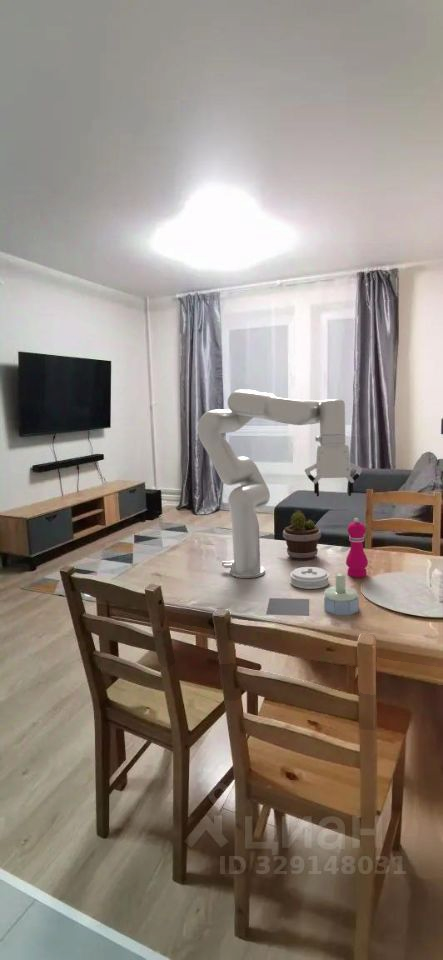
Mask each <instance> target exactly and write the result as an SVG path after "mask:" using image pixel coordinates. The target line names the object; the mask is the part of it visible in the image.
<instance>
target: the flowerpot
mask: <svg viewBox="0 0 443 960" xmlns="http://www.w3.org/2000/svg"><path fill="white" fill-rule="evenodd" d="M289 518H290V525H288V526H286V527H285V528H284V529H283V531H282V537H283V539H285V543H286V545H287V548H286V553H287V555H288V556H289V558H290V559H292V560H296V561H310V560H313V559H315V558H316V556H317V554H318V553H319V552H318V551H319V550H318V548H317V547H318V543H319V539H320V538H321V537H322V531H321V530H320V529H319V527H318V526H317V525H316V523H315V521H314V520H313V521H312V520H311V519H308V521H307V520H306V516H305V513H303V512H302V510H298V509H295V511H294V513H293V514H292V515H291V517H289ZM314 523H315V524H314Z"/></svg>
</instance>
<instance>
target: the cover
mask: <svg viewBox="0 0 443 960" xmlns="http://www.w3.org/2000/svg"><path fill="white" fill-rule="evenodd" d="M334 577H335V578H334V579H335V580H334V581H335V586H330V587H327V588H325V589H324V593H325V597H326V598H327V599H329V600H332V601H336V602H349V601H353V600H355V599H356V598H357V594H358V592H357V590H356V589H355V588H352V587H349V586H347V585H346V584H347V583H346V581H347V580H346V574H345V573H340V572H339V573H335V575H334Z"/></svg>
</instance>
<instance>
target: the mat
mask: <svg viewBox="0 0 443 960" xmlns="http://www.w3.org/2000/svg"><path fill="white" fill-rule="evenodd" d="M265 615H273V616H274V615H275V616H277V615H278V616H303V617H305V616H306V617H309V616H310V598H285V597H284V598H281V597H270V598H269V599H268V604H267V608H266V612H265Z"/></svg>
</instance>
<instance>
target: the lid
mask: <svg viewBox="0 0 443 960" xmlns="http://www.w3.org/2000/svg"><path fill="white" fill-rule="evenodd" d="M289 576H290V581H289V582H290V584H291V585H292V586H293V587H296V588H300V589H309V590H310V589H311V590H313V589H321V588H324V587H327V586H328V585H329V584H330V580H329V577H330V574H329V572H327V570H325V569H324V568H321V567H316V566H302V567H298V568H295V569H293V570H292V571H290V573H289Z"/></svg>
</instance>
